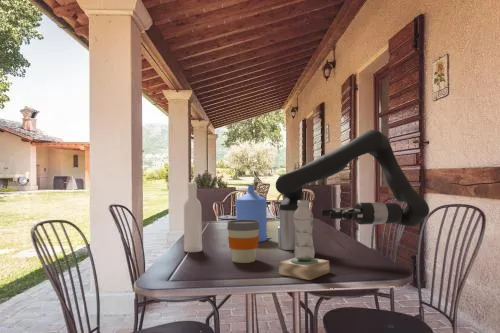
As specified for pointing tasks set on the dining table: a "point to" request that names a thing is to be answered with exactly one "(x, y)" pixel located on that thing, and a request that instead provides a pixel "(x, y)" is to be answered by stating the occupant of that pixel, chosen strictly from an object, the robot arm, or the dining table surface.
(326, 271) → the base block
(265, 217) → the water jug
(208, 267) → the dining table surface
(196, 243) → the bottle
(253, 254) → the reusable coffee cup
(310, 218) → the plastic bottle
